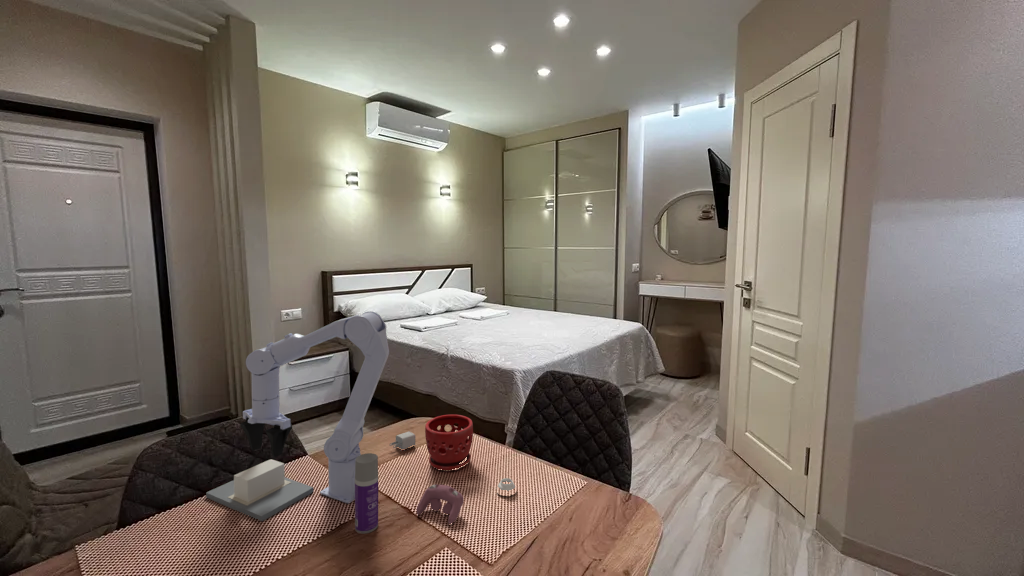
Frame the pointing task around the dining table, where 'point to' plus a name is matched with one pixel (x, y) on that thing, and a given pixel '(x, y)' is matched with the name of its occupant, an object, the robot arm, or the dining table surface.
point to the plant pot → (449, 441)
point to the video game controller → (443, 493)
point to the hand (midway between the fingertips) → (266, 452)
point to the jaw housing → (259, 480)
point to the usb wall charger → (404, 440)
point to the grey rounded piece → (506, 486)
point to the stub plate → (261, 498)
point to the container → (366, 493)
